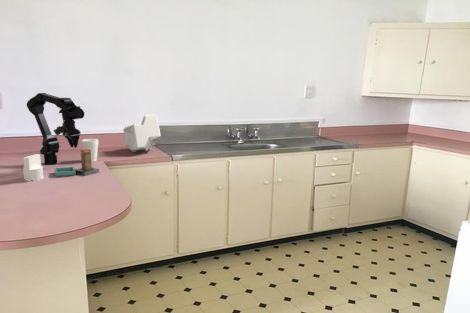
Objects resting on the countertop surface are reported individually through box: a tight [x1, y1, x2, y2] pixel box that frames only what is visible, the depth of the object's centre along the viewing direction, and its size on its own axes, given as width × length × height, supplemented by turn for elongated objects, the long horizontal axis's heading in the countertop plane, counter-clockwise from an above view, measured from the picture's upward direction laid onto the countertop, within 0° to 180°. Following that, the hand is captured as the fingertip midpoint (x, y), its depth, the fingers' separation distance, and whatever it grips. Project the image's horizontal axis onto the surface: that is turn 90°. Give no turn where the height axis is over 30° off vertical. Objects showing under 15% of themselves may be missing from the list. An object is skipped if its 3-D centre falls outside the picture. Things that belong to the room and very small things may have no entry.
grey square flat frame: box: [75, 166, 100, 177], centre depth 213 cm, size 9×9×2 cm
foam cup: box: [81, 138, 99, 163], centre depth 239 cm, size 10×9×13 cm
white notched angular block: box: [122, 113, 162, 153], centre depth 267 cm, size 20×16×25 cm
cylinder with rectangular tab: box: [22, 153, 44, 181], centre depth 198 cm, size 9×9×12 cm
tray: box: [54, 166, 76, 178], centre depth 209 cm, size 10×10×2 cm
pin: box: [80, 148, 93, 171], centre depth 211 cm, size 4×4×13 cm
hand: (73, 147), depth 219 cm, fingers open, 9 cm apart
